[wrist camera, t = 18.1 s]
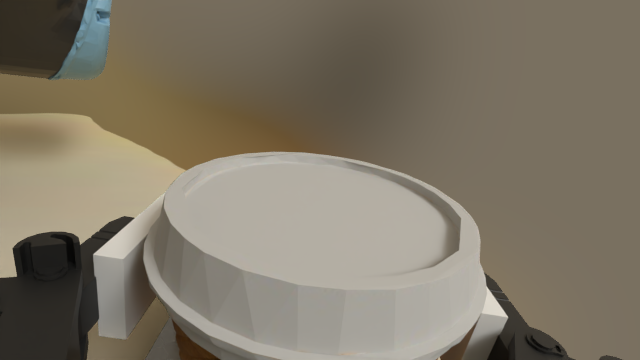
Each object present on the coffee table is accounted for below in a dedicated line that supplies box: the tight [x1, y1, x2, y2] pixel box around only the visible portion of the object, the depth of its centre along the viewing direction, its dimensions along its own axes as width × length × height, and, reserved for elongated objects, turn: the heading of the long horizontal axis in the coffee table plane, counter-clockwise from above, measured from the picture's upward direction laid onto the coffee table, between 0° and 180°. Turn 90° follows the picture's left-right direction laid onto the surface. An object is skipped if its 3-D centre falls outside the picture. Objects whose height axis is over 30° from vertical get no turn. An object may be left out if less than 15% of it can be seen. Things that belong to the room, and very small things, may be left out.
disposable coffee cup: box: [143, 152, 487, 360], centre depth 12 cm, size 10×10×12 cm
